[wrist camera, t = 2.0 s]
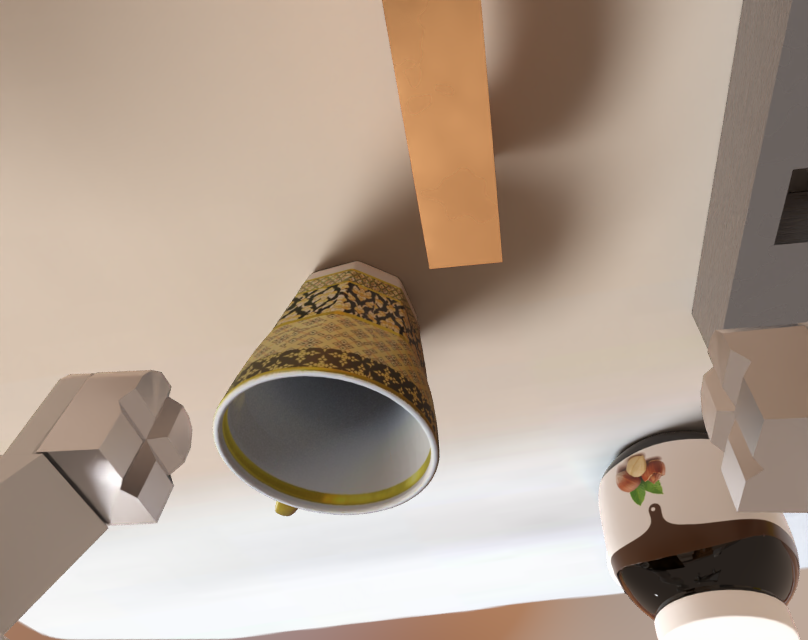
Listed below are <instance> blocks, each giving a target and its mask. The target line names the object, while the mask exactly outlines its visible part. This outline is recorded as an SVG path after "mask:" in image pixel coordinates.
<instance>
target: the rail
mask: <svg viewBox="0 0 808 640" xmlns="http://www.w3.org/2000/svg"><path fill="white" fill-rule="evenodd" d="M802 168H808V0H743V6H742V12H741V18H740V24H739V30H738V36H737V42H736V48H735V54H734V60H733V66H732V72H731V78H730V84H729V90H728V97H727V103H726V109H725V115H724V121H723V127H722V133H721V139H720V145H719V151H718V157H717V163H716V169H715V175H714V182H713V188H712V194H711V200H710V206H709V212H708V218H707V224H706V230H705V236H704V242H703V248H702V254H701V260H700V266H699V273H698V279H697V285H696V291H695V297H694V303H693V309H692V315H693V317H694V320H695V322H696V324H697V326H698V329H699V331H700V333H701V335H702V337H703V340H704V342H705V344H706V346H707V348H709V343H710V338H711V336H712V334H713V333H714V331H715V330H722V329H735V328H747V327H760V326H773V325H786V324H798V323H805V322H808V191H803V192H793V193H787V191H788V187H789V183H790V179H791V175H792V171H793V169H802Z"/></svg>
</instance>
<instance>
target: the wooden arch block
mask: <svg viewBox="0 0 808 640" xmlns="http://www.w3.org/2000/svg"><path fill="white" fill-rule="evenodd" d="M382 3H383V8H384V14H385V20H386V25H387V31H388V37H389V42H390V48H391V54H392V59H393V65H394V71H395V76H396V82H397V88H398V93H399V99H400V105H401V110H402V116H403V122H404V127H405V133H406V139H407V144H408V150H409V156H410V161H411V167H412V173H413V178H414V184H415V190H416V195H417V201H418V206H419V212H420V218H421V223H422V229H423V235H424V240H425V246H426V252H427V257H428V263H429V269H435V268H445V267H456V266H466V265H477V264H487V263H497V262H502V249H501V237H500V224H499V212H498V200H497V188H496V176H495V164H494V152H493V140H492V128H491V116H490V104H489V92H488V80H487V68H486V56H485V44H484V32H483V20H482V8H481V0H382Z"/></svg>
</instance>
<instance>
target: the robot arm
mask: <svg viewBox="0 0 808 640" xmlns="http://www.w3.org/2000/svg"><path fill="white" fill-rule="evenodd" d="M708 354H709V357H710V359H711V361H712V364H713V366H714V367H713V368H711V369H710V370H709V371H708V372H707V373H706V374H705V375H703V381H702V388H701V406H702V415H703V419H704V424H705V428H706V430H707V433H708V436H709V439H710V442H711V443H713V444H714V445H715V446H717V447H718V448H719V449H721V450H722V451H723V452H725V453H724V457H723V461H722V466H721V471H722V474H723V476H724V479H725V482H726V484H727V487H728V490H729V492H730V495H731V497H732V500H733V503H734V505H735V508H736V510H737V512H774V513H808V322H805V323H798V324H786V325H773V326H760V327H747V328H735V329H722V330H715V331H714V333H713V334H712V336H711V338H710V343H709V348H708ZM170 390H171V385H170V384H169V382H168V381H167V379H166V378H165V376H164V375H163V374H162V372H158V371H153V370H143V371H121V372H98V373H94V374H70V375H68V376H66V377H64V378H62V379H60V380H59V381H58V382H57V384H56V385H55V386H54V388H53V389H52V390H51V392H50V393H49V394H48V396H47V397H46V398H45V400H44V401H43V402H42V404H41V405H40V406H39V408H38V409H37V410H36V412H35V413H34V414H33V416H32V417H31V418H30V420H29V421H28V422H27V424H26V425H25V426H24V428H23V429H22V431H21V432H20V433H19V435H18V436H17V437H16V439H15V440H14V441H13V443H12V444H11V445H10V447H9V448H8V449H7V451H6V452H5V453H4V455H0V640H9V639H8V638H6V637H5V636H4V634H5V633H6V632H7V631H8V630H9V629H10V628H11V627H12V626H13V625H14V624H15V623H16V622H17V621H18V620H19V619H20V618H21V617H22V616H23V615H24V614H25V613H26V612H27V611H28V609H29V608H30V607H31V606H32V605H33V604H34V603H35V602H36V601H37V600H38V599H39V598H40V597H41V596H42V595H43V594H44V593H45V592H46V591H47V590H48V589H49V588H50V587H51V586H52V585H53V584H54V583H55V582H56V581H57V580H58V579H59V578H60V577H61V576H62V575H63V574H64V573H65V572H66V571H67V570H68V569H69V568H70V567H71V566H72V565H73V564H74V563H75V562H76V561H77V560H78V559H79V558H80V557H81V556H82V555H83V553H84V552H85V551H86V550H87V549H88V548H89V547H90V546H91V545H92V544H93V543H94V542H95V541H96V540H97V539H98V538H99V537H100V536H101V535H102V534H103V533H104V532H105V531H106V530H107V529H108V527H107V526H108V525H128V524H149V523H157V522H158V520H159V517H160V515H161V513H162V511H163V509H164V506H165V504H166V502H167V500H168V498H169V495H170V493H171V491H172V489H173V487H174V485H173V482H172V479H171V475H170V474H172V473H173V472H174V471H175V470H176V469H177V468H179V467H180V466H181V465H182V464H183V463H184V462H185V460H186V457H187V455H188V453H189V450H190V448H191V439H192V426H191V422H190V418H189V415H188V414H187V412H186V410H185V408H184V407H183V406H182V405H181V404H179V403H178V402H176V401H175V400H173V399H171V398H170V397H169V393H170Z"/></svg>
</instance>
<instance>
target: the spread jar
mask: <svg viewBox="0 0 808 640" xmlns="http://www.w3.org/2000/svg"><path fill="white" fill-rule="evenodd" d="M724 453H725V452H723V451H722V450H721V449H719V448H718V447H717V446H715V445H714V444H713V443H711V442H710V439H709V436H708V433H702V432H693V431H675V432H667V433H661V434H657V435H653V436H650V437H648V438H645V439H643V440H641V441H639V442H637V443H635V444H633V445H632V446H630V447H629V448H627V449H626V450H625V451H624V452H622V453H621V454H620V455H619V456H618V457H617V458H616V459H615V460H614V461H613V462H612V463H611V465H610V466H609V467H608V468H607V470H606V471H605V473H604V475H603V477H602V480H601V482H600V486H599V494H598V499H599V510H600V517H601V523H602V528H603V533H604V539H605V544H606V548H607V565H608V569H609V572H610V574H611V576H612V577H613V579H614V580H615V581H616V582H617V584H618V585H619V586H621V587H622V589H623V590H624V592H625V594H627V595H628V597H629V598H630V599H631V600H632V602H633V603H634V604H635V605H636V606H637V607H638V608H639V609H640V610H641V611H643V612H644V613H645V614H646V615H647V616H649V617H650V618H651V619H653V620H654V622H655V628H656V632H657V637H658V640H800V636H799V633H798V631H797V629H796V627H795V623H794V621H793V619H792V616H791V614H790V611H789V609H788V607H787V605H788V604H789V602H790V600H791V599H792V597H793V595H794V593H795V591H796V588H797V585H798V580H799V574H800V566H799V558H798V552H797V549H796V545H795V542H794V539H793V536H792V533H791V531H790V528H789V526H788V524H787V521H786V519H785V517H784V515H783V513H774V512H737V510H736V508H735V505H734V503H733V500H732V497H731V495H730V492H729V490H728V487H727V484H726V482H725V479H724V476H723V474H722V471H721V466H722V461H723V457H724Z"/></svg>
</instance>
